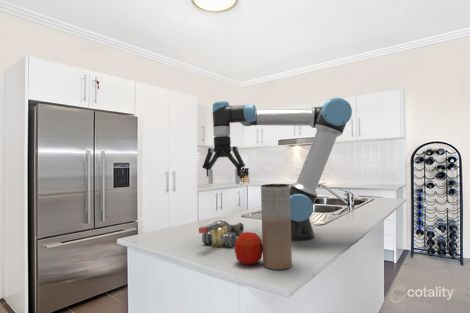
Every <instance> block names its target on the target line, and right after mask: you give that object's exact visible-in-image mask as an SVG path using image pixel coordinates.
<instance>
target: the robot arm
mask: <svg viewBox="0 0 470 313" xmlns="http://www.w3.org/2000/svg"><path fill="white" fill-rule="evenodd" d="M352 114H353V108H352V106H351V104H350V103H349V102H348V101H347V100H346V99H344V98H341V97H333V98H330V99H328V100H326V101H325V102H324V104H323V105H322V106H313V107H311V108H310V109H257V108H256V105H255V104H249V103H247V104H242V105H230V102H229V101H224V100H223V101H222V100H221V101H215V102H213V104H212V121H213V126H212V127H213V146H214V148H212V147H208V149H207V154H206V156H205V160H204V161H203V164H202V169H205V171H206V177H208V178H207V180H208V185H212V184H214V177H213V176H214V174H213V169H212V168H213V167H214V165H215V163H216V162H217V161H218V159H219V158H227V159H229V161H230V162H231V163H232V164H233V165H234V167H235V168H234V176H235V178H234V179H235V182H234V183H235V185H238V184H240V180H241V179H240V177H241V176H242V168H245V166H246V164H245V163H244V161H243V159H242V157H241V155H240V153H239V150H238V146H236V145H235V146H231V144H232V143H231V142H232V141H231V124H233V123H239V124H241V125H242V126H245V127H250V126H251V127H252V126H295V127H296V126H303V127H304V126H308V127H309V126H310V127H311V128H315V130H316V132H315V134H314V136H313V139H312V142H311V143H310V144H311V145H310V147H309V149H308V152H307V155H306V157H305V160H304V162H303V164H302V167H301V170H300V172H299V174H298V177H297V179H296V182H294V183H292V184H291V186H289V187H290V218H291V241H307V240H311V239H314V238H315V233H314V232H315V231H314V229H313V226H312V223H311V221H310V218H311V216H312V215H313V213H314V205H315V203H316V200H317V198H318V193H317V186H319V182H320V180H321V177H322V175H323V172H324V170H325V167H326V165H327V162H328V159H329V157H330V155H331V152H332V150H333V147H334V145H335V143H336V139H337V138H338V137H341V136H342V135H343V133H344V130H345V127H346V125H347V123H349V121H350V119H351V118H352ZM231 151H232V153H233V154H234V156H233V155H232V153H231ZM212 156H213V157H212Z"/></svg>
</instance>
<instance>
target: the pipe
mask: <svg viewBox="0 0 470 313" xmlns="http://www.w3.org/2000/svg"><path fill="white" fill-rule="evenodd" d="M218 221H223V222H224V226H227V232H231V233H235V234H236V236H237V235H238V236H239V235H240V234H242V233H244V231H245V230H244V229H245V228H244V224H243V223H242V222H238V223H237V224H229V222H227V221H225V220H222V219H221V220H220V219H219V220H218Z"/></svg>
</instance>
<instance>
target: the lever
mask: <svg viewBox="0 0 470 313" xmlns="http://www.w3.org/2000/svg"><path fill="white" fill-rule="evenodd" d="M223 221H224V220H222V221H219V220H216V221H214V222H212V223H210V224H207V225H205V226H201V227H198V233H199V234H202V235H203V234H205V233H208V232H209V231H211V230H214V229H216V228H218V227H223V226H224V222H223Z"/></svg>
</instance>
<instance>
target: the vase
mask: <svg viewBox="0 0 470 313" xmlns="http://www.w3.org/2000/svg"><path fill="white" fill-rule="evenodd" d="M290 187H291V186H290V184H285V183H270V184H269V183H267V184H261V185H260V202H261V203H260V205H261V206H260V207H261V233H262V234H261V237H262V239H261V240H262V245H263V252H262V262H263V263H262V264H263V266H264V268H266V269H269V270H272V271H282V270H288V269H290V268H291V267H292V265H293V263H292V262H293V256H292V240H291V218H290Z"/></svg>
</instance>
